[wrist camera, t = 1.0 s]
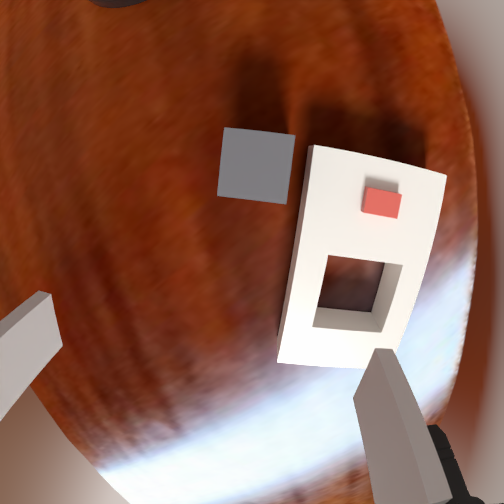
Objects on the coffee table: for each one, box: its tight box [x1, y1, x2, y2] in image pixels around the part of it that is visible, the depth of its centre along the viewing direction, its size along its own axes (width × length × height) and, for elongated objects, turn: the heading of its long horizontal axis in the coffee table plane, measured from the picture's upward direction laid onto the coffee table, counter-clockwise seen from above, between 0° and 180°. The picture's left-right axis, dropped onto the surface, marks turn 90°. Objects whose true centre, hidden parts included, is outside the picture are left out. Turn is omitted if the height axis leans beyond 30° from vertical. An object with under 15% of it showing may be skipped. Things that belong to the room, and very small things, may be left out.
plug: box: [217, 128, 295, 204], centre depth 23 cm, size 4×4×8 cm
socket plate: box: [277, 145, 447, 368], centre depth 26 cm, size 20×12×5 cm, turn 174°
